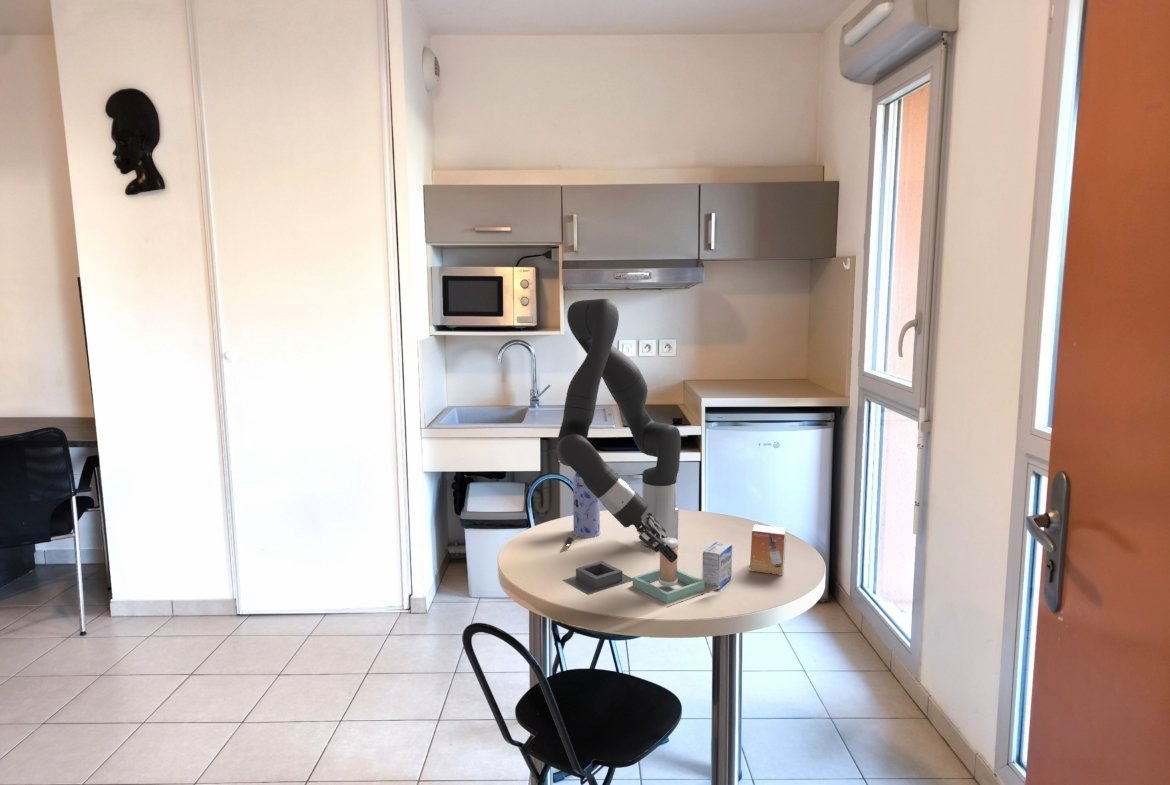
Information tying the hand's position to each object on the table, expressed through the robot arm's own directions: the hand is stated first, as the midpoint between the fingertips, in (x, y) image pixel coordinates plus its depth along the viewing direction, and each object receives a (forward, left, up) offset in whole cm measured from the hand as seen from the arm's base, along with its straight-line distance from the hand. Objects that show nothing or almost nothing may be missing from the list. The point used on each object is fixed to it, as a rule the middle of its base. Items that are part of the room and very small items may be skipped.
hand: (674, 555), depth 165 cm
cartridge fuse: (+1, -1, -7) cm, 7 cm away
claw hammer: (+6, -34, -10) cm, 36 cm away
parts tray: (+1, -1, -9) cm, 9 cm away
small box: (-28, +4, -9) cm, 30 cm away
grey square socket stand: (+11, -14, -9) cm, 20 cm away
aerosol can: (-8, -44, -9) cm, 46 cm away
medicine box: (-12, +2, -9) cm, 15 cm away
